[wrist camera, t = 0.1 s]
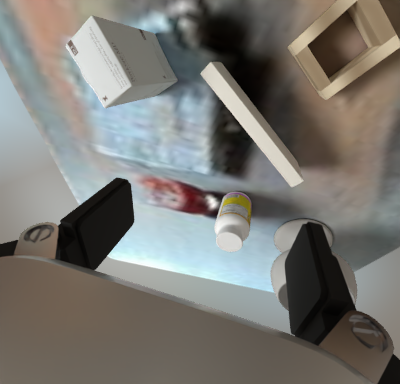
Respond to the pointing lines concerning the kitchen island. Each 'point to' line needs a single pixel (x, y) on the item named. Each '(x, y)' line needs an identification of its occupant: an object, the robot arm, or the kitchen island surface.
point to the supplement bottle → (233, 221)
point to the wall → (252, 121)
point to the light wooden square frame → (377, 50)
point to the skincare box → (120, 61)
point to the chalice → (284, 243)
